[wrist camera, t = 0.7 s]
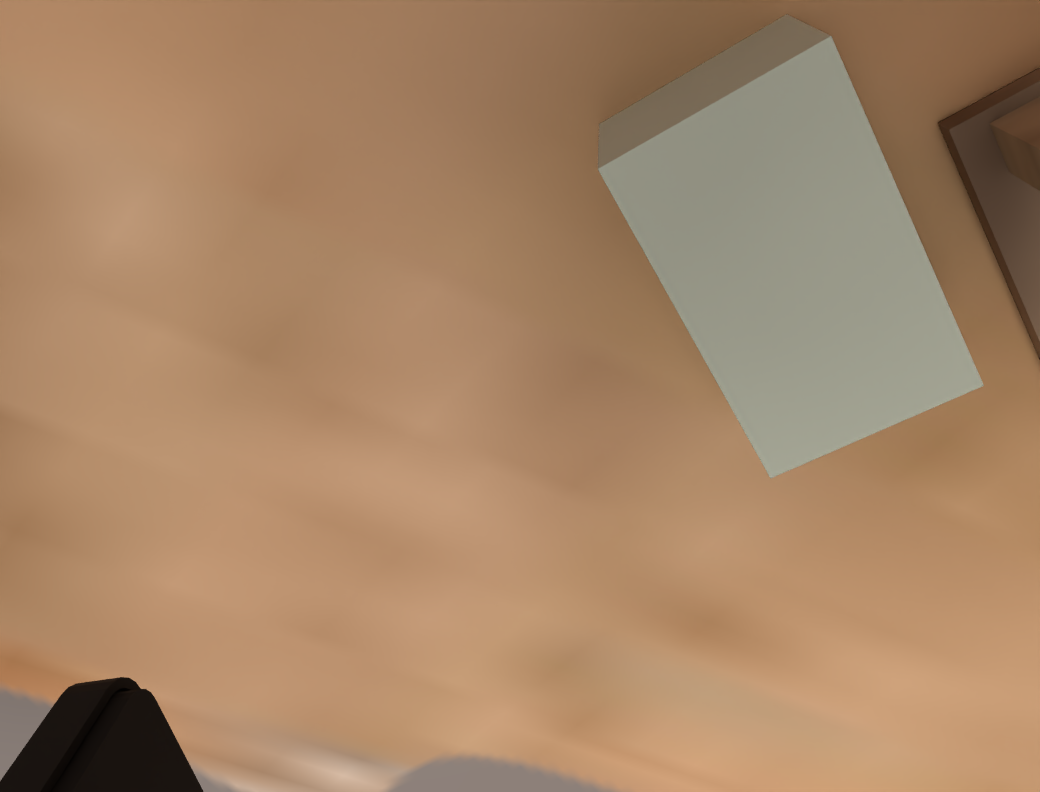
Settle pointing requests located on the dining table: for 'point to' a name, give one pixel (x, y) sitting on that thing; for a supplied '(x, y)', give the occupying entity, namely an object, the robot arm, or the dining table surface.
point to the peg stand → (1005, 183)
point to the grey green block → (786, 245)
